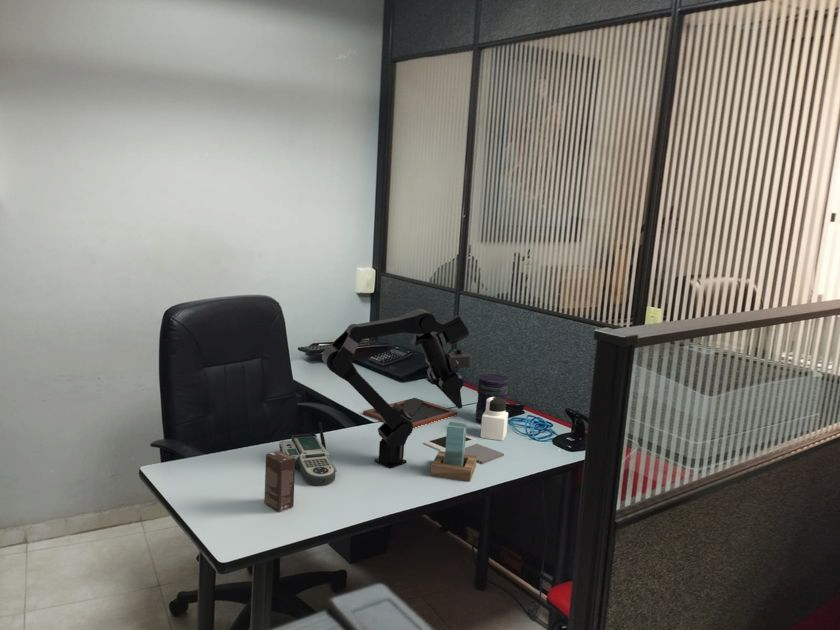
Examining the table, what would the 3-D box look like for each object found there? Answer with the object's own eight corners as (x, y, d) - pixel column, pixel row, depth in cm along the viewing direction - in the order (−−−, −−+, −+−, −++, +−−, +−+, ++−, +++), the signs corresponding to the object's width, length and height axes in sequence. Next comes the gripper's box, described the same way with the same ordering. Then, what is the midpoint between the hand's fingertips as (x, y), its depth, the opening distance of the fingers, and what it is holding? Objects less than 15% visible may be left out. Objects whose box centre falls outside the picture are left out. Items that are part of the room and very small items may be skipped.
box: (294, 507, 156) (296, 457, 154) (278, 512, 153) (279, 462, 151) (279, 498, 160) (280, 449, 158) (263, 503, 157) (264, 454, 155)
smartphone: (423, 445, 201) (423, 442, 201) (458, 434, 212) (459, 431, 211) (440, 452, 196) (440, 449, 196) (475, 441, 206) (476, 438, 206)
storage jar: (510, 421, 225) (514, 378, 223) (495, 428, 218) (499, 383, 215) (484, 414, 231) (488, 372, 229) (469, 421, 223) (472, 377, 221)
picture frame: (414, 402, 243) (362, 416, 224) (414, 396, 242) (363, 410, 224) (457, 416, 229) (406, 432, 211) (458, 411, 229) (406, 426, 211)
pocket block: (470, 481, 176) (470, 470, 175) (430, 475, 178) (431, 464, 178) (475, 466, 186) (476, 456, 185) (438, 461, 188) (439, 450, 188)
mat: (482, 464, 188) (482, 462, 188) (454, 453, 195) (455, 451, 194) (503, 455, 195) (504, 453, 195) (476, 445, 202) (476, 443, 202)
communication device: (296, 491, 165) (297, 457, 164) (276, 454, 187) (277, 424, 185) (344, 485, 170) (345, 452, 169) (319, 450, 192) (320, 420, 190)
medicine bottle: (506, 433, 214) (509, 397, 212) (503, 441, 207) (506, 403, 205) (484, 430, 215) (487, 394, 213) (480, 437, 209) (483, 400, 207)
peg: (460, 475, 179) (463, 428, 177) (443, 473, 180) (447, 426, 178) (463, 469, 184) (466, 423, 181) (447, 466, 185) (450, 421, 182)
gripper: (471, 347, 176) (492, 400, 179) (453, 335, 194) (472, 383, 197) (432, 364, 174) (454, 418, 177) (417, 351, 192) (438, 399, 195)
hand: (456, 403), depth 187 cm, fingers open, 9 cm apart
